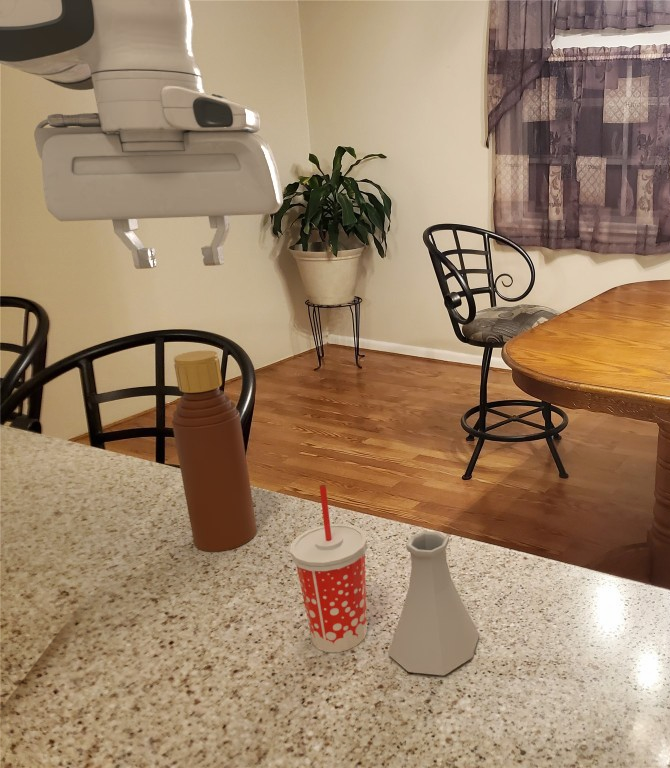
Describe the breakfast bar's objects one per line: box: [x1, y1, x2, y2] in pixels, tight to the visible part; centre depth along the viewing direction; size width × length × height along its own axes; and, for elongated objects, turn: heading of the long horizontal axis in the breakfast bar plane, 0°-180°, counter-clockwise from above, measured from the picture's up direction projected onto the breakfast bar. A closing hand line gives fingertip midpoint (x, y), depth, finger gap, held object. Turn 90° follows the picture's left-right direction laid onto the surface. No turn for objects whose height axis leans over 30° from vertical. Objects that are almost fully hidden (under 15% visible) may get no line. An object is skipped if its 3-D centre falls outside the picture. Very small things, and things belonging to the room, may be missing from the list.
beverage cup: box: [290, 484, 368, 653], centre depth 57 cm, size 6×6×14 cm
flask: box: [387, 530, 480, 676], centre depth 55 cm, size 7×7×10 cm
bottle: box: [171, 387, 258, 553], centre depth 72 cm, size 6×6×20 cm
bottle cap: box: [173, 350, 223, 393], centre depth 69 cm, size 4×4×3 cm
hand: (180, 266), depth 66 cm, fingers open, 5 cm apart
